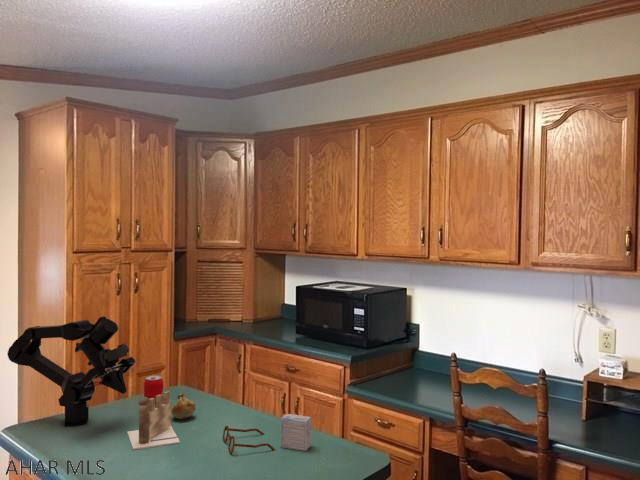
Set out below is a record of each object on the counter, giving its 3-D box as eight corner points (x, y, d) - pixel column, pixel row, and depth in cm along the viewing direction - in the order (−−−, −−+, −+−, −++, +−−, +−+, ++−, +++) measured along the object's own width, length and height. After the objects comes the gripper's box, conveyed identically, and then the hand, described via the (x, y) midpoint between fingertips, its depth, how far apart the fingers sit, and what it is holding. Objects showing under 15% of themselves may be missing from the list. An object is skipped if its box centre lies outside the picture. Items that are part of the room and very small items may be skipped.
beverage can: (165, 410, 188) (166, 375, 188) (158, 416, 182) (159, 380, 182) (148, 409, 189) (148, 374, 189) (140, 415, 183) (141, 379, 182)
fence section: (149, 438, 161) (150, 400, 160) (146, 437, 161) (146, 400, 161) (170, 426, 171) (171, 390, 170) (167, 425, 171) (167, 390, 171)
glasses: (221, 440, 164) (222, 423, 164) (264, 435, 169) (264, 419, 169) (230, 458, 152) (231, 440, 152) (276, 452, 156) (276, 434, 156)
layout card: (133, 449, 154) (133, 448, 154) (127, 432, 167) (127, 431, 167) (179, 443, 160) (179, 441, 160) (171, 426, 173) (171, 425, 173)
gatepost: (139, 446, 157) (139, 399, 157) (137, 442, 160) (138, 396, 160) (149, 444, 158) (150, 397, 158) (148, 440, 161) (149, 395, 161)
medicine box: (311, 446, 160) (311, 416, 160) (305, 452, 156) (306, 421, 155) (286, 442, 162) (286, 413, 162) (280, 447, 158) (280, 417, 158)
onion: (165, 420, 178) (165, 396, 178) (180, 413, 186) (181, 389, 186) (185, 424, 176) (185, 399, 175) (199, 416, 183) (200, 392, 183)
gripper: (89, 342, 161) (119, 384, 158) (131, 331, 179) (159, 368, 175) (67, 366, 164) (97, 408, 160) (111, 353, 182) (138, 390, 178)
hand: (125, 392), depth 168 cm, fingers closed
